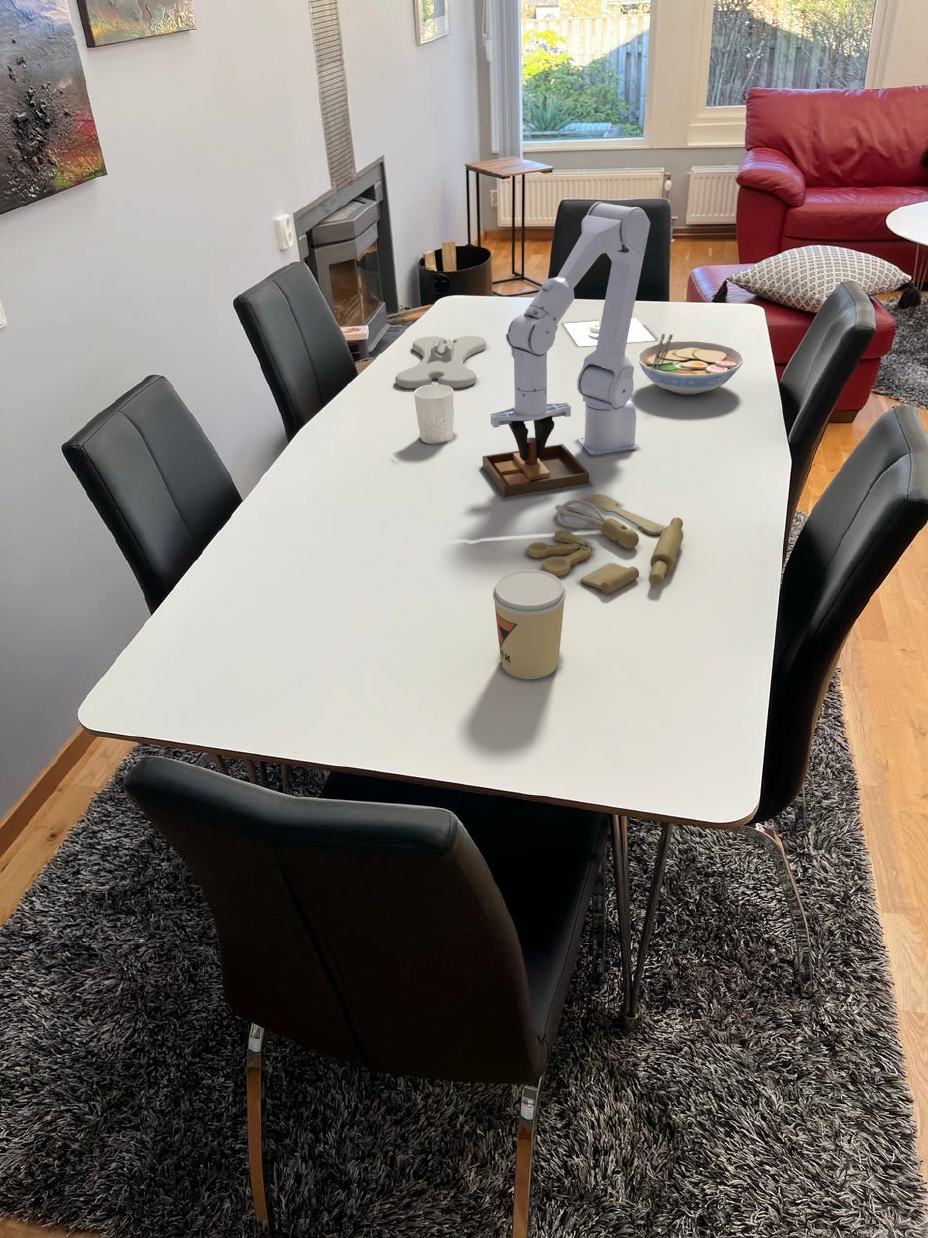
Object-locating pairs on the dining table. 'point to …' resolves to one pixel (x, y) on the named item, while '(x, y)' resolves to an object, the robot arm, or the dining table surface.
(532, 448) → the wooden stamp
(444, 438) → the white cup
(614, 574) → the toy baking set
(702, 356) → the ramen bowl
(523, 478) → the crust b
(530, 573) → the lidded cream canister
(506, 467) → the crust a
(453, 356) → the holder
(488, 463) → the tray
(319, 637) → the dining table surface
